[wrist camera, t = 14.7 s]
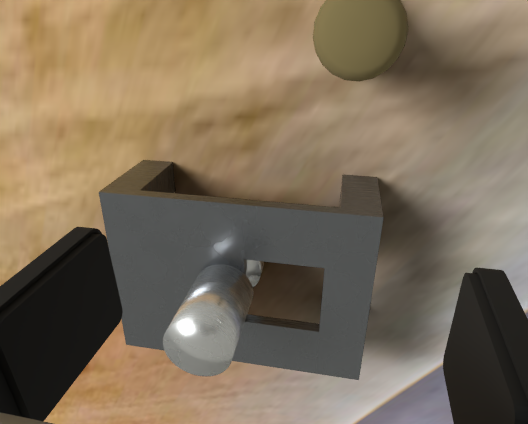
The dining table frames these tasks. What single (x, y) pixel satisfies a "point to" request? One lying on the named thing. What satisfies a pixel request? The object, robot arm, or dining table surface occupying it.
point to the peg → (211, 319)
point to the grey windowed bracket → (245, 263)
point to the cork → (359, 36)
